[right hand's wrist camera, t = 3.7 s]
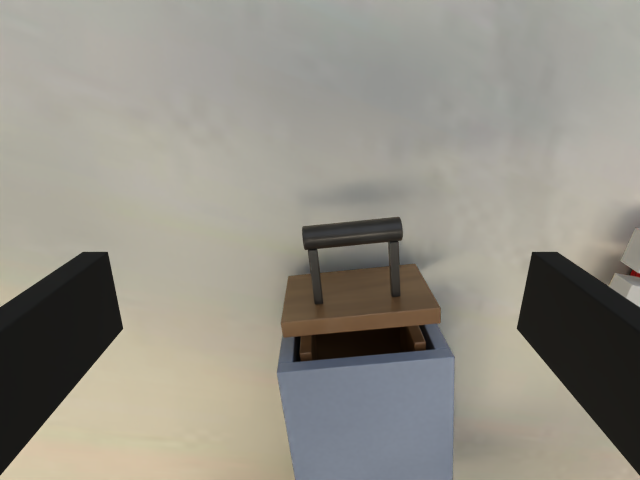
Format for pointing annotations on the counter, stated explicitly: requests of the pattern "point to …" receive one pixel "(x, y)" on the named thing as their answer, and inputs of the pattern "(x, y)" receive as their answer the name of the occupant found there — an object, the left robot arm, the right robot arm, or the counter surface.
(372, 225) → the drawer
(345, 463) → the cabinet
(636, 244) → the toy
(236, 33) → the counter surface
